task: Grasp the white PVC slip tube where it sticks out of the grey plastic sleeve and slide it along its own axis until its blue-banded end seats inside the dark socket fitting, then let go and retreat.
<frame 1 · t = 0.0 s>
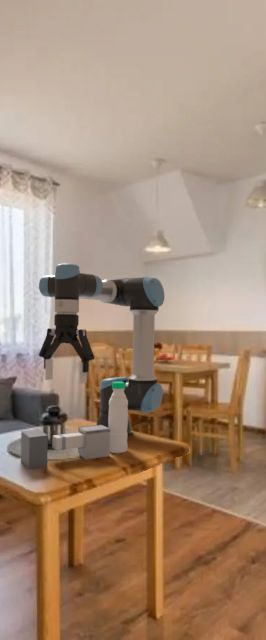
hand: (65, 381, 146), 28 cm above the table, fingers open, 13 cm apart
water bottle: (117, 451, 168), on the table
socket fitting: (33, 463, 152), on the table
sleeve: (93, 455, 162), on the table
slip tube: (80, 439, 160), point 6 cm above the table, slide at 0.0 cm
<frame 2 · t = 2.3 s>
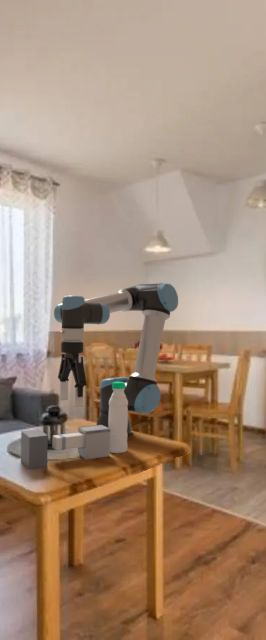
hand: (71, 403, 158), 19 cm above the table, fingers open, 13 cm apart
nothing on the table moved.
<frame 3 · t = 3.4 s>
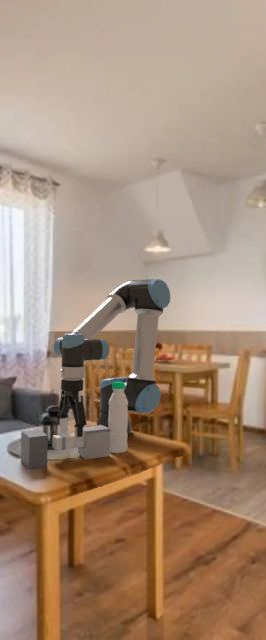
hand: (70, 441, 158), 6 cm above the table, fingers open, 13 cm apart
nothing on the table moved.
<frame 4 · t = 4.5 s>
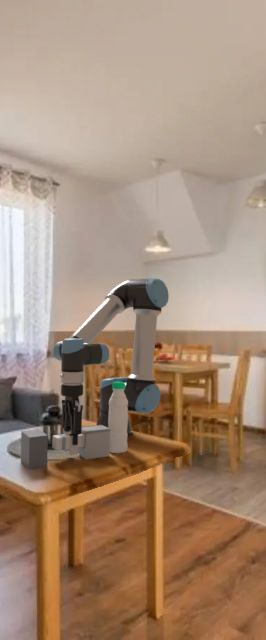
hand: (71, 452, 158), 2 cm above the table, fingers closed on slip tube, 4 cm apart
slip tube: (80, 439, 160), point 6 cm above the table, slide at 0.0 cm, touching gripper
everything else where it was.
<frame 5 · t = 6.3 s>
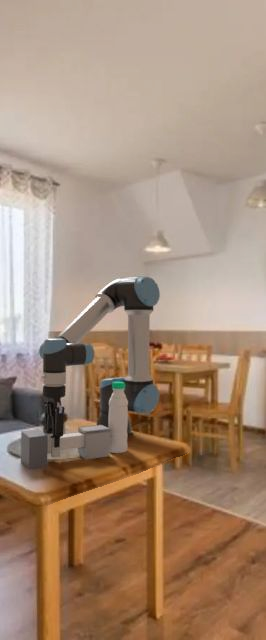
hand: (53, 454, 155), 2 cm above the table, fingers closed on slip tube, 4 cm apart
slip tube: (63, 441, 157), point 6 cm above the table, slide at 6.4 cm, touching gripper
everything else where it was.
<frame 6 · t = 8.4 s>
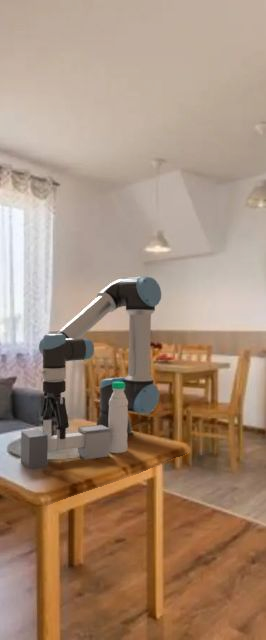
hand: (54, 443, 155), 6 cm above the table, fingers open, 13 cm apart
slip tube: (63, 441, 157), point 6 cm above the table, slide at 6.5 cm
everything else where it was.
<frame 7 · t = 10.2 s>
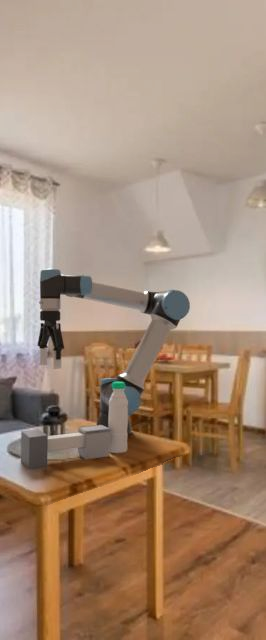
hand: (50, 366, 174), 29 cm above the table, fingers open, 13 cm apart
nothing on the table moved.
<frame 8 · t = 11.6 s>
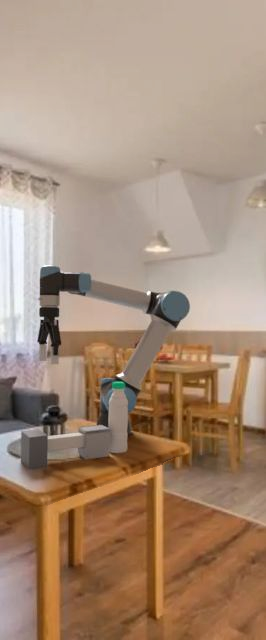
hand: (48, 362, 177), 31 cm above the table, fingers open, 13 cm apart
nothing on the table moved.
at the end: slip tube slide at 6.5 cm; the gripper is holding nothing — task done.
